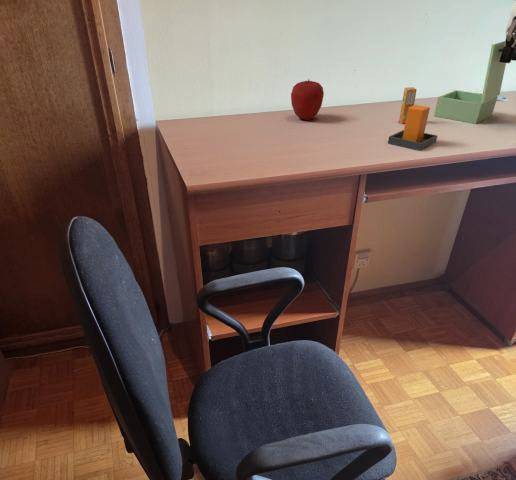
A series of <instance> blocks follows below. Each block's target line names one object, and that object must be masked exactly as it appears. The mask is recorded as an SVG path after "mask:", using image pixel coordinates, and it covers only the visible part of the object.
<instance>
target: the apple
mask: <svg viewBox="0 0 516 480" xmlns="http://www.w3.org/2000/svg"><path fill="white" fill-rule="evenodd" d="M307 79H308V80H304V81H303V80H302V81H299V82H297V83H296V84H295V85H294V86H292V90H291V93H290V101H291V108H292V110H293V112H294V114H295V116H297V117H298V118H299V119H301V120H305V121H310V120H312V119H314V118H315V117H316V116H317V115H318V113H319V112H320V110H321V108H322V106H323V101H324V96H325V92H324V87H323V86H322V84H320V83H319V82H317V81H313V80H310V79H309V78H307Z"/></svg>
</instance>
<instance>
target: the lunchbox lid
mask: <svg viewBox="0 0 516 480" xmlns="http://www.w3.org/2000/svg"><path fill="white" fill-rule="evenodd" d="M505 41H506V40H503V41H500V42H499V41H498V42H496V43H493V44H491V48H490V53H489V58H488V63H487V69H486V73H485V80H484V84H483V89H482V93H481V94H482V100H481V103H484V102H486V101H488V100H490V99H492V98H494V97H496V96H497V97H499V96H500V95H501V91H502V90H501V89H502V85H503V80H504V75H505V71H506V65H507V63H502V62H499V60H500V57H501V54H502V51H503V47H504V43H505ZM515 52H516V46H515V50H514V53H515Z"/></svg>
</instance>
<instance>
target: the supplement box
mask: <svg viewBox="0 0 516 480" xmlns="http://www.w3.org/2000/svg"><path fill="white" fill-rule="evenodd" d="M416 96H417V88H415V87H414V86H412V87H411V86H410V87H409V86H408V87H404V90H403V96H402V101H401V106H400V107H401V108H400V113H399V119H398V122H400V124H402V125H405V122H406V117H407V112H408V108H409V107H412V106H414V105H415V101H416Z"/></svg>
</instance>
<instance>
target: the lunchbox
mask: <svg viewBox="0 0 516 480" xmlns="http://www.w3.org/2000/svg"><path fill="white" fill-rule="evenodd" d="M482 94H483V93H478V92H470V91H464V90H459V89H455V90H452V91H450V92H447V93H445V94H442V95H440V96H437V100H436V104H435V108H434V114H433V117H438V118H443V119H448V120H454V121H459V122H464V123H469V124H475V125H476V124H479V123H480V122H482V121H484V120H486V119H488V118H490V117H491V116H493V113H494V110H495V106H496V104H497V100H498V96H496V97H494V98H492V99H490V100H488V101H486V102H484V103H481V100H482Z"/></svg>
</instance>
